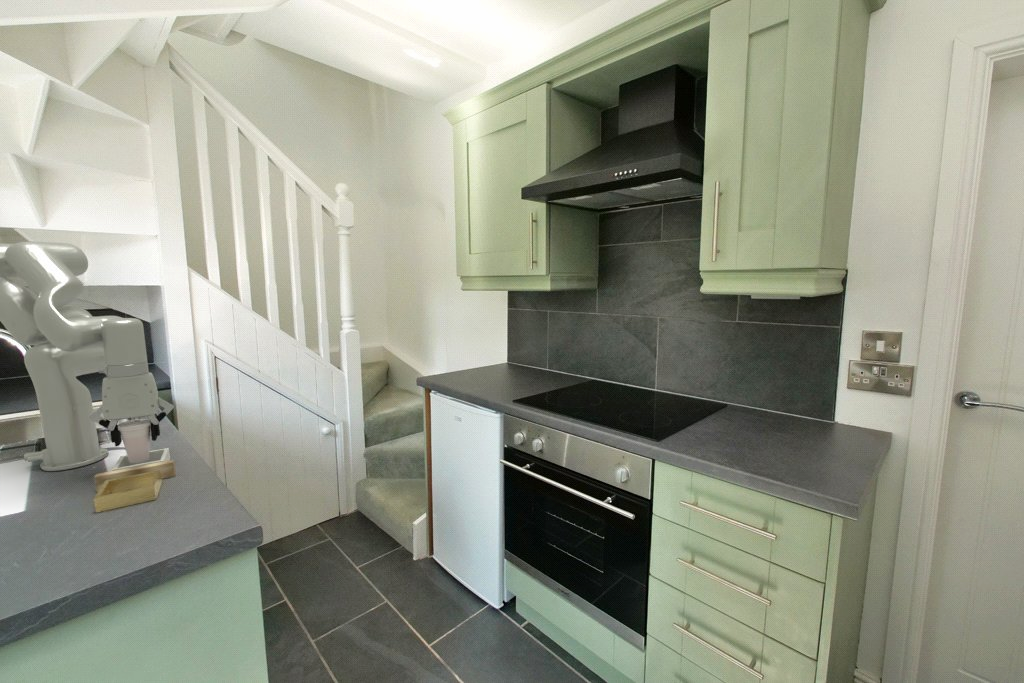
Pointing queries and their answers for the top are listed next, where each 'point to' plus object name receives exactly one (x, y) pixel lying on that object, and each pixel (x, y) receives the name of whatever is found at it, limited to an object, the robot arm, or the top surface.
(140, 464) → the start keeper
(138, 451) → the smoothie
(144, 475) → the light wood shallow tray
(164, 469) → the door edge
